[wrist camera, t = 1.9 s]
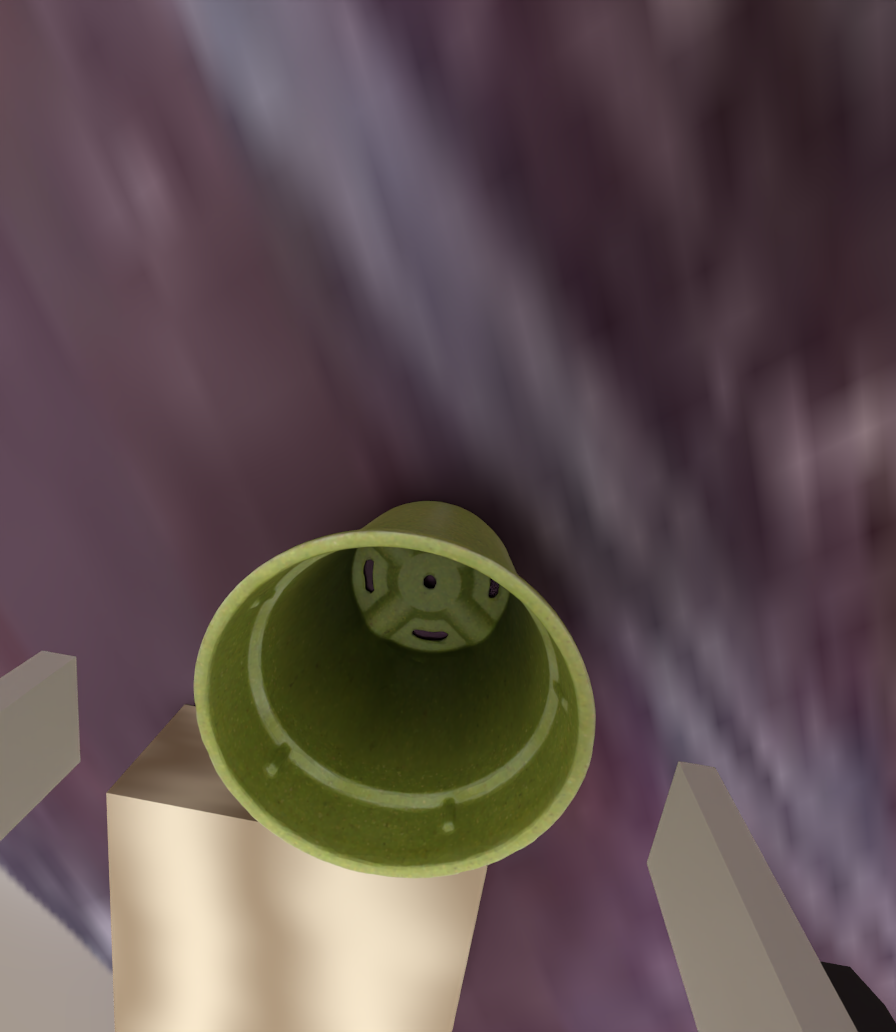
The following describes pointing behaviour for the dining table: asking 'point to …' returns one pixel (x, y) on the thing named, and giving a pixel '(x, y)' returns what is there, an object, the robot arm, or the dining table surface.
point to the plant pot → (396, 698)
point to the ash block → (264, 916)
